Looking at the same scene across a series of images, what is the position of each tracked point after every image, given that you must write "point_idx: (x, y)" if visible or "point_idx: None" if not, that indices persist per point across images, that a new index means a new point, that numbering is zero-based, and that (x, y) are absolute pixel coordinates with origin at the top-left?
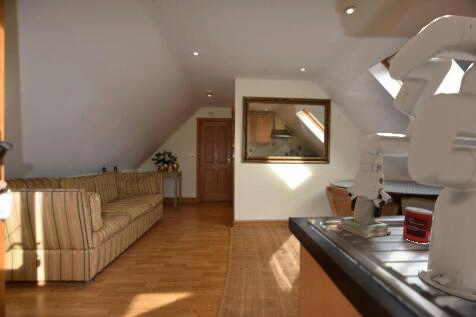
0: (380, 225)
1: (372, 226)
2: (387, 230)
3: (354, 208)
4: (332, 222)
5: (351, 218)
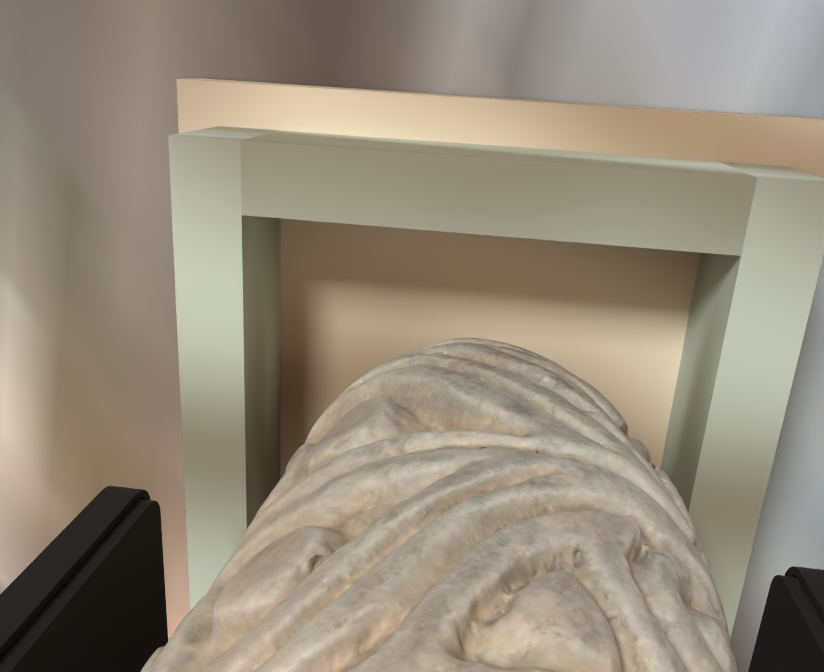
0: (775, 445)
1: None
2: (780, 144)
3: (141, 637)
4: None
5: None
